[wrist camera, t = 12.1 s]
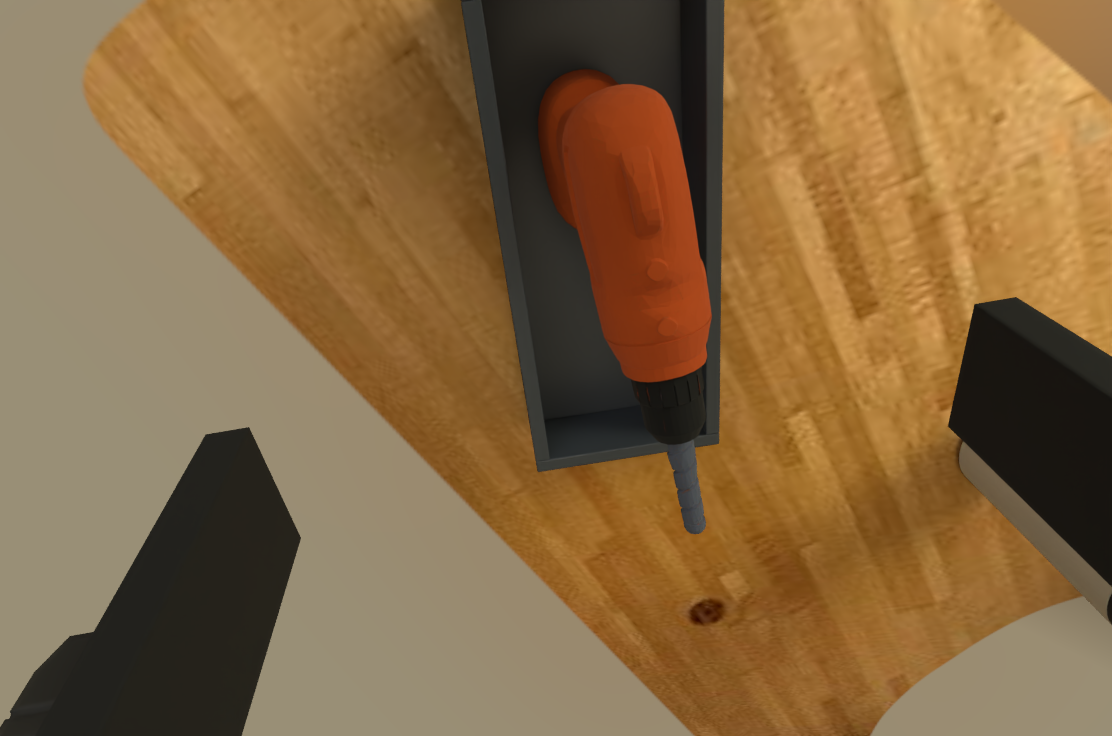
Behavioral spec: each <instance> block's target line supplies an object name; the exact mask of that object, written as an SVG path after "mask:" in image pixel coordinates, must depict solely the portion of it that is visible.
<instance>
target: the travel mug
mask: <svg viewBox="0 0 1112 736" xmlns="http://www.w3.org/2000/svg"><path fill="white" fill-rule="evenodd" d="M959 465H960V468H961V471H962V473H963V474H964V475H965V477H966V478H967V479H968V480H969V481H970V482H971V483H972V484H973V485H974V486H975V487H976V488H977V489H978V490H979V491H980V492H981V493H982V494H983V495H984V496H985V497H986V498H987V499H988V500H989V501H990V502H991V503H992V504H993V505H994V506H995V507H996V508H997V509H998V510H999V511H1000V512H1001V513H1002V514H1003V515H1004V516H1005V517H1006V518H1007V519H1008V520H1009V521H1010V522H1011V523H1012V524H1013V525H1014V526H1015V527H1016V528H1017V529H1018V530H1019V531H1020V532H1021V533H1022V534H1023V535H1024V536H1025V537H1026V538H1027V539H1028V540H1029V541H1030V542H1031V543H1032V544H1033V546H1034V547H1035V548H1036V549H1037V550H1038V551H1039V552H1040V553H1041V554H1042V555H1043V556H1044V557H1045V558H1046V559H1047V560H1048V561H1049V562H1050V563H1051V564H1052V565H1053V566H1054V567H1055V568H1056V569H1057V570H1058V571H1059V572H1060V573H1061V574H1062V575H1063V576H1064V577H1065V578H1066V579H1067V580H1068V581H1069V582H1070V583H1071V584H1072V585H1073V586H1074V587H1075V588H1076V589H1077V590H1078V591H1079V592H1080V593H1081V594H1082V595H1083V596H1084V597H1085V598H1086V599H1087V600H1088V601H1089V602H1090V603H1091V604H1092V605H1093V606H1094V607H1095V608H1096V609H1097V610H1098V611H1099V612H1100V613H1101V614H1102V615H1103V616H1104V617H1105V618H1106V619H1107V620H1108V621H1109V622H1110V623H1111V624H1112V587H1111V586H1110V585H1109V584H1108V583H1107V582H1106V581H1105V580H1104V579H1103V578H1102V577H1101V576H1100V575H1099V574H1098V573H1097V572H1096V571H1095V570H1094V569H1093V568H1092V567H1091V566H1090V565H1089V564H1088V563H1087V562H1086V561H1085V560H1084V559H1083V558H1082V557H1081V556H1080V555H1079V554H1078V553H1077V552H1076V551H1075V550H1074V549H1073V548H1071V547H1070V546H1069V545H1068V544H1067V543H1066V542H1065V541H1064V540H1063V539H1062V538H1061V537H1060V536H1059V535H1058V534H1057V533H1056V532H1055V531H1054V530H1053V529H1052V528H1051V527H1050V526H1049V525H1048V524H1047V523H1046V522H1045V521H1044V520H1043V519H1042V518H1041V517H1040V516H1039V515H1038V514H1037V513H1036V512H1035V511H1034V510H1033V509H1032V508H1031V507H1030V506H1029V505H1028V504H1027V503H1026V502H1025V501H1024V500H1023V499H1022V498H1021V497H1020V496H1019V495H1018V494H1017V493H1015V492H1014V491H1013V490H1012V489H1011V488H1010V487H1009V486H1008V485H1007V484H1006V483H1005V482H1004V481H1003V480H1002V479H1001V478H1000V477H999V476H998V475H997V474H996V473H995V472H994V471H993V470H992V469H991V468H990V467H989V466H988V465H987V464H986V463H985V462H984V461H983V460H982V459H981V458H980V457H979V456H978V455H977V454H976V453H975V452H974V451H973V450H972V449H971V448H970V447H969V446H968V445H967V444H966V443H965V442H964V441H963V443H962V445H961V449H960V453H959Z"/></svg>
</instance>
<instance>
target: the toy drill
mask: <svg viewBox="0 0 1112 736" xmlns="http://www.w3.org/2000/svg"><path fill="white" fill-rule="evenodd" d="M538 136H539V144H540V151H541V157H542V162H543V167H544V172H545V176H546V180H547V184H548V188H549V191H550V194H551V197H552V200H553V202H554V204H555V207H556V209H557V211H558V212H559V213H560V215H561V216H562V217H563V218H564V220H565V221H566V222H567V223H568V224H570V225H571V226H573V227H574V228H576V229H577V230H578V233H579V237H580V240H581V244H582V248H583V251H584V255H585V258H586V262H587V265H588V269H589V272H590V279H591V286H592V291H593V295H594V299H595V303H596V307H597V311H598V315H599V319H600V323H601V327H602V331H603V334H604V338H605V339H606V341H607V343H608V344H609V346H610V348H611V350H612V351H613V353H614V355H615V356H616V358H617V360H618V361H619V362H620V365H621V369H622V372H623V373H624V375H625V376H626V377H628V378H630V379H631V382H632V387H633V391H634V395H635V398H636V399H637V401H638V402H639V403H640V406H641V411H642V415H643V420H644V425H645V428H646V430H647V431H648V432H649V433H650V434H651V435H652V436H653V437H654V438H655V439H656V440H657V441H659V442H660V443H663V444H667V446H668V453H667V455H668V458H669V461H670V463H671V466H672V469H673V470H675V471H674V473H673V474H674V479H675V484H676V488H678V489H679V490H678V491H677V493H678V499H679V504H680V506H681V507H682V509H681V513H682V517H683V521H684V527H685V528H686V530H687V531H688V532H689V533H691V534H699V533H701V532H702V531H703V530H704V529H705V526H706V521H705V517H704V516H703V514H704V510H703V503H702V498H701V496H700V495H701V493H700V487H699V481H698V478H697V461H696V457H695V456H696V454H695V446H694V441H693V439H695V438H696V437H697V436H698V435H699V433H700V431H701V429H702V427H703V424H704V422H705V420H706V412H705V406H704V400H703V394H702V391H703V389H704V380H703V373H702V367H701V366H702V365H704V363H705V362H706V359H707V351H706V343H707V339H708V334H709V328H710V323H711V318H712V314H711V306H710V299H709V292H708V285H707V278H706V271H705V267H704V264H703V262H702V260H701V258H700V254H699V247H698V240H697V234H696V227H695V220H694V213H693V207H692V201H691V196H690V190H689V184H688V179H687V174H686V169H685V164H684V159H683V155H682V150H681V145H680V140H679V136H678V132H677V129H676V125H675V122H674V118H673V115H672V111H671V109H670V108H669V106H668V104H667V102H666V100H665V99H664V98H663V97H662V95H660V94H659V93H658V92H657V91H655V90H653V89H651V88H648V87H645V86H643V85H635V84H621V85H619V84H618V83H617V82H616V81H615V80H614V79H613V78H612V77H611V76H609V75H606V74H604V73H602V72H600V71H597V70H591V69H580V70H574V71H571V72H568V73H565V74H563V75H561V76H560V77H558V78H557V79H556V80H554V81H553V82H552V83H551V85H550V86H549V87H548V88H547V89H546V91H545V94H544V96H543V99H542V101H541V104H540V109H539V117H538Z"/></svg>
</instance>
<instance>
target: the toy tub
mask: <svg viewBox="0 0 1112 736" xmlns="http://www.w3.org/2000/svg"><path fill="white" fill-rule="evenodd" d="M461 1H462V2H461V6H462V12H463V18H464V24H465V30H466V36H467V42H468V49H469V55H470V61H471V67H472V73H473V79H474V85H475V91H476V98H477V104H478V110H479V116H480V122H481V128H482V134H483V140H484V147H485V153H486V159H487V165H488V171H489V177H490V183H491V189H492V196H493V202H494V208H495V214H496V220H497V226H498V232H499V238H500V245H501V251H502V257H503V263H504V269H505V275H506V281H507V287H508V294H509V300H510V306H511V312H512V318H513V324H514V330H515V336H516V343H517V349H518V355H519V361H520V367H521V373H522V379H523V385H524V392H525V398H526V404H527V410H528V416H529V422H530V428H531V434H532V440H533V447H534V453H535V459H536V465H537V471H538V472H541V471H548V470H554V469H561V468H567V467H573V466H580V465H586V464H593V463H599V462H605V461H612V460H618V459H625V458H631V457H637V456H644V455H650V454H657V453H663V452H668V446H667V444H663V443H660V442H659V441H657V440H656V439H655V438H654V437H653V436H652V435H651V434H650V433H649V432H648V431H647V430H646V428H645V425H644V420H643V415H642V411H641V406H640V403H639V402H638V401H637V399H636V398H635V395H634V391H633V387H632V382H631V379H630V378H628V377H626V376H625V375H624V373H623V372H622V369H621V365H620V362H619V361H618V360H617V358H616V356H615V355H614V353H613V351H612V350H611V348H610V346H609V344H608V343H607V341H606V339H605V338H604V334H603V331H602V327H601V323H600V319H599V315H598V311H597V307H596V303H595V299H594V295H593V291H592V286H591V279H590V272H589V269H588V265H587V262H586V258H585V255H584V251H583V248H582V244H581V240H580V237H579V233H578V230H577V229H576V228H574V227H573V226H571V225H570V224H568V223H567V222H566V221H565V220H564V218H563V217H562V216H561V215H560V213H559V212H558V211H557V209H556V207H555V204H554V202H553V200H552V197H551V194H550V191H549V188H548V184H547V180H546V176H545V172H544V167H543V162H542V157H541V151H540V144H539V136H538V117H539V109H540V104H541V101H542V99H543V96H544V94H545V91H546V89H547V88H548V87H549V86H550V85H551V83H552V82H553V81H554V80H556V79H557V78H558V77H560V76H561V75H563V74H565V73H568V72H571V71H574V70H580V69H591V70H597V71H600V72H602V73H604V74H606V75H609V76H611V77H612V78H613V79H614V80H615V81H616V82H617V83H618V84H619V85H621V84H635V85H643V86H645V87H648V88H651V89H653V90H655V91H657V92H658V93H659V94H660V95H662V97H663V98H664V99H665V100H666V102H667V104H668V106H669V108H670V109H671V111H672V115H673V118H674V122H675V125H676V129H677V132H678V136H679V140H680V145H681V150H682V155H683V159H684V164H685V169H686V174H687V179H688V184H689V190H690V196H691V201H692V207H693V213H694V220H695V227H696V234H697V240H698V247H699V254H700V258H701V260H702V262H703V264H704V267H705V271H706V278H707V285H708V292H709V299H710V306H711V314H712V318H711V323H710V328H709V334H708V339H707V343H706V351H707V359H706V362H705V363H704V365H702V366H701V367H702V373H703V380H704V389H703V391H702V394H703V400H704V406H705V412H706V420H705V422H704V424H703V427H702V429H701V431H700V433H699V435H698V436H697V437H696V438H695V439H693V441H694V446H695V447H701V446H708V445H714V444H719V410H720V325H721V240H722V155H723V69H724V0H461Z"/></svg>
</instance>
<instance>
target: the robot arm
mask: <svg viewBox="0 0 1112 736" xmlns="http://www.w3.org/2000/svg"><path fill="white" fill-rule="evenodd" d="M948 427H949V428H950V429H951V430H952V431H953V432H954V433H955V434H956V435H957V436H958V437H960V438H961V439H962V440H963V441H964V442H965V443H966V444H967V445H968V446H969V447H970V448H971V449H972V450H973V451H974V452H975V453H976V454H977V455H978V456H979V457H980V458H981V459H982V460H983V461H984V462H985V463H986V464H987V465H988V466H989V467H990V468H991V469H992V470H993V471H994V472H995V473H996V474H997V475H998V476H999V477H1000V478H1001V479H1002V480H1003V481H1004V482H1005V483H1006V484H1007V485H1008V486H1009V487H1010V488H1011V489H1012V490H1013V491H1014V492H1015V493H1017V494H1018V495H1019V496H1020V497H1021V498H1022V499H1023V500H1024V501H1025V502H1026V503H1027V504H1028V505H1029V506H1030V507H1031V508H1032V509H1033V510H1034V511H1035V512H1036V513H1037V514H1038V515H1039V516H1040V517H1041V518H1042V519H1043V520H1044V521H1045V522H1046V523H1047V524H1048V525H1049V526H1050V527H1051V528H1052V529H1053V530H1054V531H1055V532H1056V533H1057V534H1058V535H1059V536H1060V537H1061V538H1062V539H1063V540H1064V541H1065V542H1066V543H1067V544H1068V545H1069V546H1070V547H1071V548H1073V549H1074V550H1075V551H1076V552H1077V553H1078V554H1079V555H1080V556H1081V557H1082V558H1083V559H1084V560H1085V561H1086V562H1087V563H1088V564H1089V565H1090V566H1091V567H1092V568H1093V569H1094V570H1095V571H1096V572H1097V573H1098V574H1099V575H1100V576H1101V577H1102V578H1103V579H1104V580H1105V581H1106V582H1107V583H1108V584H1109V585H1110V586H1111V587H1112V357H1111V356H1110V355H1108V354H1107V353H1105V352H1103V351H1102V350H1100V349H1099V348H1097V347H1095V346H1094V345H1092V344H1091V343H1089V342H1087V341H1086V340H1084V339H1083V338H1081V337H1079V336H1078V335H1076V334H1074V333H1073V332H1071V331H1070V330H1068V329H1066V328H1065V327H1063V326H1062V325H1060V324H1058V323H1057V322H1055V321H1054V320H1052V319H1050V318H1049V317H1047V316H1045V315H1044V314H1042V313H1041V312H1039V311H1037V310H1036V309H1034V308H1033V307H1031V306H1029V305H1028V304H1026V303H1025V302H1023V301H1021V300H1020V299H1018V298H1016V297H1015V298H1009V299H1003V300H997V301H991V302H985V303H979V304H975V305H974V310H973V314H972V319H971V323H970V328H969V332H968V337H967V342H966V346H965V351H964V355H963V360H962V364H961V369H960V374H959V378H958V383H957V387H956V392H955V396H954V401H953V406H952V410H951V415H950V419H949V424H948ZM300 539H301V537H300V535H299V533H298V531H297V529H296V527H295V525H294V523H293V520H292V518H291V516H290V514H289V512H288V509H287V507H286V505H285V503H284V501H283V499H282V497H281V495H280V492H279V490H278V488H277V486H276V484H275V482H274V480H273V477H272V475H271V473H270V471H269V469H268V467H267V465H266V463H265V460H264V458H263V456H262V454H261V452H260V450H259V448H258V445H257V443H256V441H255V439H254V437H253V435H252V433H251V431H250V428H249V427H248V428H242V429H236V430H230V431H224V432H219V433H212V434H207V435H205V437H204V439H203V440H202V442H201V444H200V446H199V448H198V449H197V451H196V453H195V455H194V456H193V458H192V460H191V461H190V463H189V465H188V467H187V469H186V470H185V472H184V474H183V476H182V477H181V479H180V481H179V483H178V484H177V486H176V488H175V490H174V491H173V493H172V495H171V497H170V498H169V500H168V502H167V504H166V506H165V507H164V509H163V511H162V513H161V514H160V516H159V518H158V520H157V521H156V523H155V525H154V527H153V528H152V530H151V532H150V534H149V536H148V537H147V539H146V541H145V543H144V545H143V546H142V548H141V550H140V551H139V553H138V555H137V557H136V558H135V560H134V562H133V564H132V566H131V567H130V569H129V571H128V573H127V574H126V576H125V578H124V580H123V581H122V583H121V585H120V587H119V588H118V590H117V592H116V594H115V595H114V597H113V599H112V601H111V603H110V604H109V606H108V608H107V610H106V612H105V613H104V615H103V617H102V618H101V620H100V622H99V624H98V626H97V627H96V629H95V631H94V632H91V633H86V634H80V635H74V636H70V637H69V638H68V639H67V640H66V641H65V642H64V643H63V644H62V645H61V646H60V647H59V648H58V649H57V650H56V651H55V652H54V653H53V654H52V655H51V656H50V657H49V658H48V659H47V660H46V661H45V662H44V663H43V664H42V665H41V666H40V667H39V668H38V669H37V670H36V671H35V672H34V674H33V676H32V677H31V679H30V680H29V682H28V683H27V685H26V687H25V688H24V690H23V691H22V693H21V695H20V696H19V698H18V700H17V701H16V703H15V704H14V706H13V708H12V710H11V711H10V713H11V716H10V718H9V719H6V720H5V721H4V722H3V724H2V725H1V727H0V736H242V732H243V729H244V726H245V722H246V719H247V716H248V712H249V709H250V706H251V702H252V699H253V696H254V692H255V689H256V686H257V682H258V679H259V676H260V672H261V669H262V666H263V662H264V659H265V656H266V652H267V649H268V646H269V642H270V639H271V636H272V632H273V629H274V626H275V623H276V619H277V616H278V613H279V609H280V606H281V603H282V599H283V596H284V592H285V589H286V586H287V582H288V579H289V576H290V572H291V569H292V566H293V563H294V559H295V556H296V553H297V549H298V546H299V543H300Z"/></svg>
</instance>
